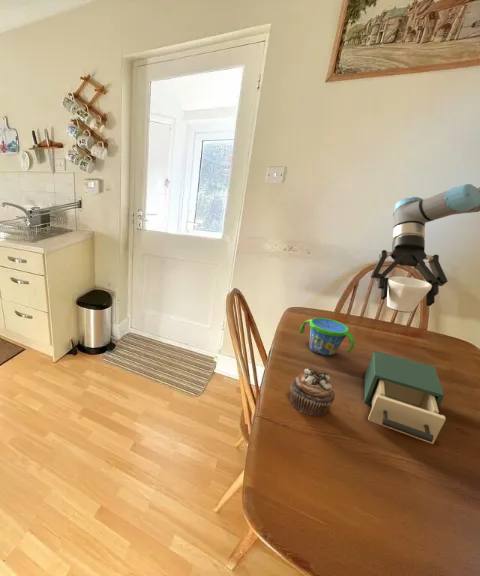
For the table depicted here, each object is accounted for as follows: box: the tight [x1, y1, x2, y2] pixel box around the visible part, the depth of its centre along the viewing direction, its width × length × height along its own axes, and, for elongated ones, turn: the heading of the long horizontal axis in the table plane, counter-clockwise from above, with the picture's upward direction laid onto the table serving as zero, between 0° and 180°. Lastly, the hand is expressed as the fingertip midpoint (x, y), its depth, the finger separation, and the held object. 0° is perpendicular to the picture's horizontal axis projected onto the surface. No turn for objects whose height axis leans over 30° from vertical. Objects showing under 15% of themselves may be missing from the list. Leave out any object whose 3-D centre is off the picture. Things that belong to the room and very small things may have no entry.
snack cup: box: [299, 317, 355, 357], centre depth 106 cm, size 16×10×10 cm
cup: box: [386, 276, 432, 313], centre depth 98 cm, size 10×10×9 cm
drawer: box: [367, 379, 446, 445], centre depth 76 cm, size 18×11×7 cm, turn 141°
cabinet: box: [363, 350, 445, 408], centre depth 84 cm, size 15×13×9 cm
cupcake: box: [290, 368, 336, 417], centre depth 82 cm, size 10×10×10 cm
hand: (406, 300), depth 96 cm, fingers closed on cup, 10 cm apart
